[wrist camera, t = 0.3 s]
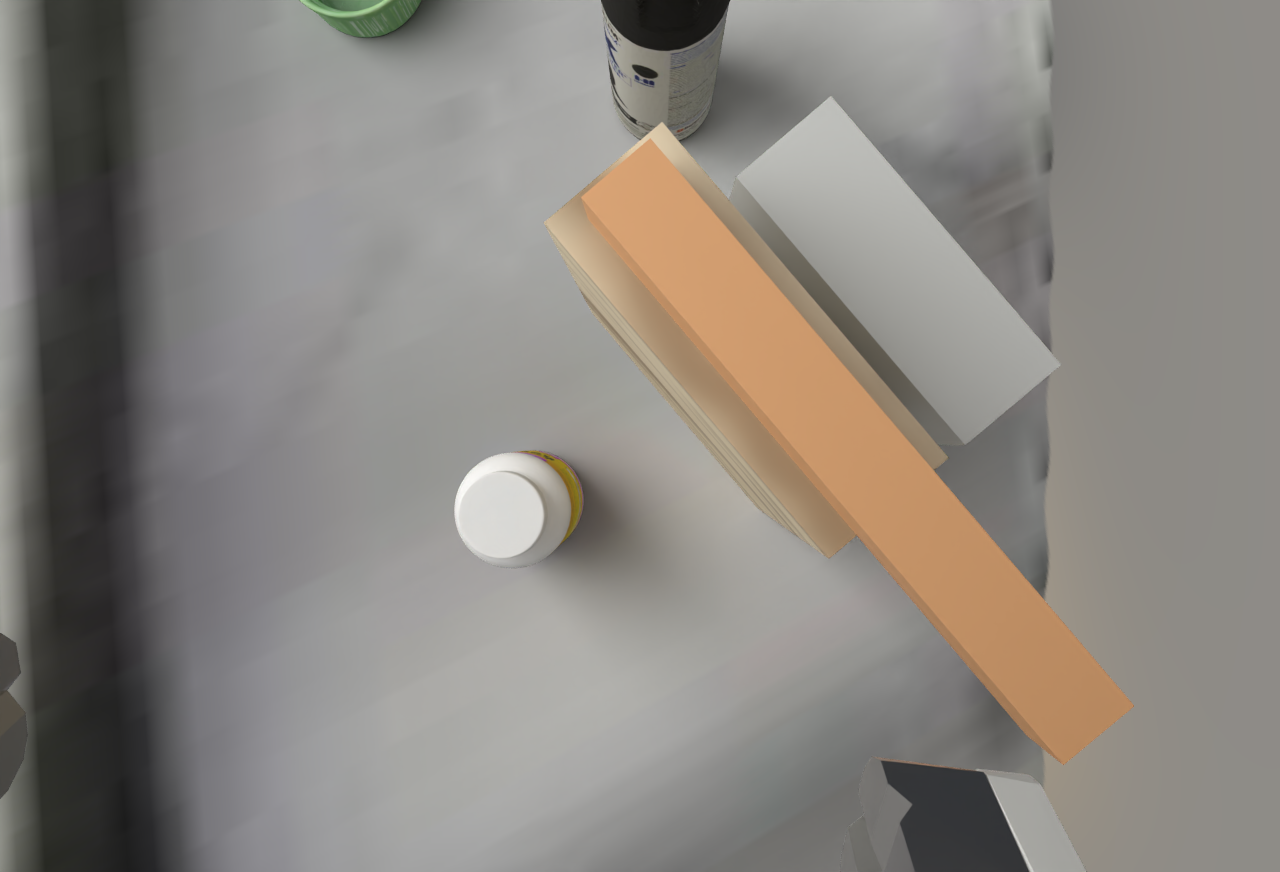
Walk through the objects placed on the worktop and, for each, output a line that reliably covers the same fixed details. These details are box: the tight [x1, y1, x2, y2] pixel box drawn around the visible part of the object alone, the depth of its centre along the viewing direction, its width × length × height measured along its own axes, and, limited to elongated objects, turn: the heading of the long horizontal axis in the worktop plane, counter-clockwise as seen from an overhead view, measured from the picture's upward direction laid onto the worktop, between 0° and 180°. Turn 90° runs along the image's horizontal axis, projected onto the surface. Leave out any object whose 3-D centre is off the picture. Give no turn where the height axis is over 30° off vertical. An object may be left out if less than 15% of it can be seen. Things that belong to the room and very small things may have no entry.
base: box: [729, 96, 1061, 445], centre depth 53 cm, size 6×17×17 cm, turn 40°
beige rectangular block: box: [544, 122, 948, 559], centre depth 49 cm, size 6×17×26 cm, turn 40°
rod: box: [581, 138, 1134, 765], centre depth 34 cm, size 3×26×3 cm, turn 40°
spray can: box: [601, 0, 730, 141], centre depth 52 cm, size 7×7×20 cm
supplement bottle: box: [455, 451, 584, 568], centre depth 55 cm, size 7×7×13 cm
